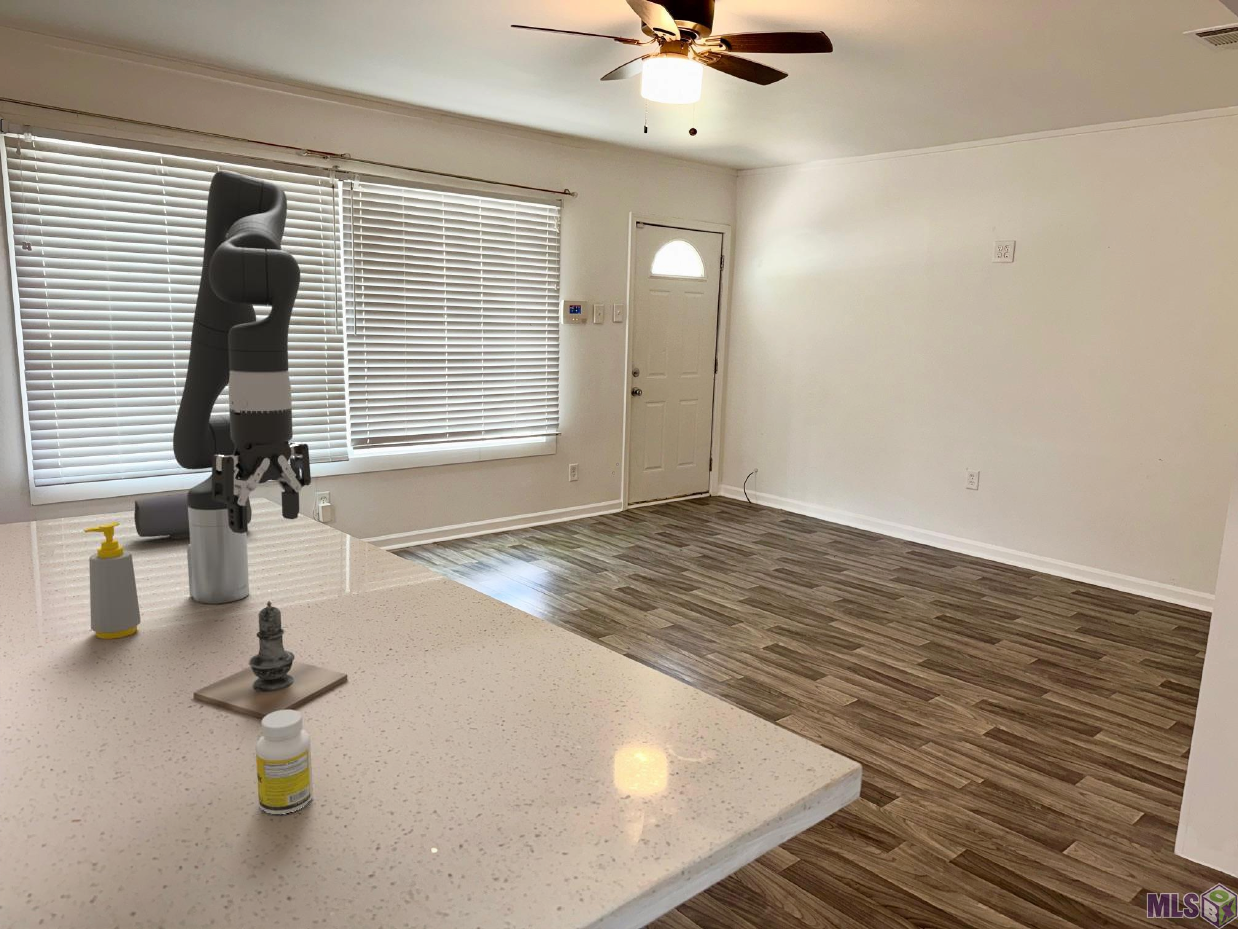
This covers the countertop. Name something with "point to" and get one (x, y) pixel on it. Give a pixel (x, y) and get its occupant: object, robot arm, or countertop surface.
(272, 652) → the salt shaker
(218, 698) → the walnut pad
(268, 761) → the supplement bottle
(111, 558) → the soap bottle
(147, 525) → the bluetooth speaker
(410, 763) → the countertop surface
